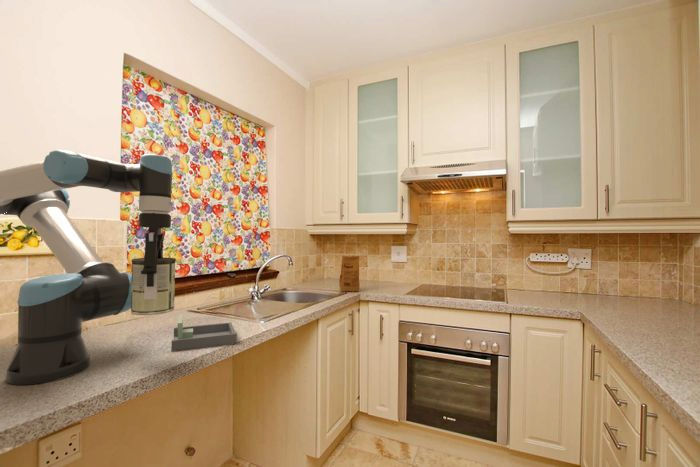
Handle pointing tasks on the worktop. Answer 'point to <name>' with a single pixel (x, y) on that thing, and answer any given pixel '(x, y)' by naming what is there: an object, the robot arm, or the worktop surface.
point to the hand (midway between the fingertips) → (153, 295)
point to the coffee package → (349, 274)
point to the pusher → (183, 332)
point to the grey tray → (205, 336)
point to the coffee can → (164, 288)
